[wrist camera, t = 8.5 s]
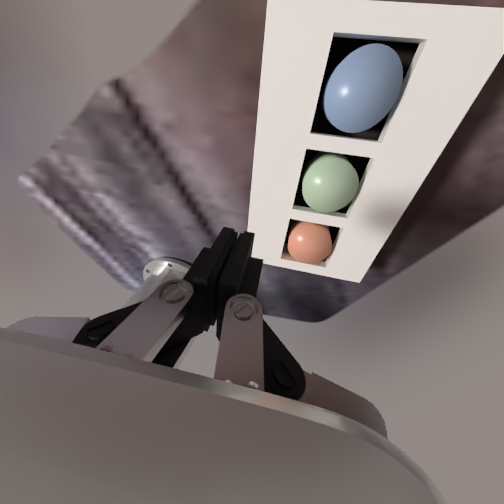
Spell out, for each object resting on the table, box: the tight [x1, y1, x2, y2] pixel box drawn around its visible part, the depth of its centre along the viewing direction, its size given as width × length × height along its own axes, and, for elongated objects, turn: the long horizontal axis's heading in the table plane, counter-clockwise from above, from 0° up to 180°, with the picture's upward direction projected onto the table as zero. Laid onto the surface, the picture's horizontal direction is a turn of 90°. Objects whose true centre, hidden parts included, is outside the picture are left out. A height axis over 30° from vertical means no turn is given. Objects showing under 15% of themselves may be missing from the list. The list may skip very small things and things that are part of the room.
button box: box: [247, 0, 504, 283], centre depth 19 cm, size 21×14×4 cm, turn 175°
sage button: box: [302, 151, 359, 212], centre depth 19 cm, size 5×5×4 cm
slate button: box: [321, 43, 403, 133], centre depth 15 cm, size 5×5×4 cm
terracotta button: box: [288, 219, 332, 263], centre depth 23 cm, size 5×5×4 cm
